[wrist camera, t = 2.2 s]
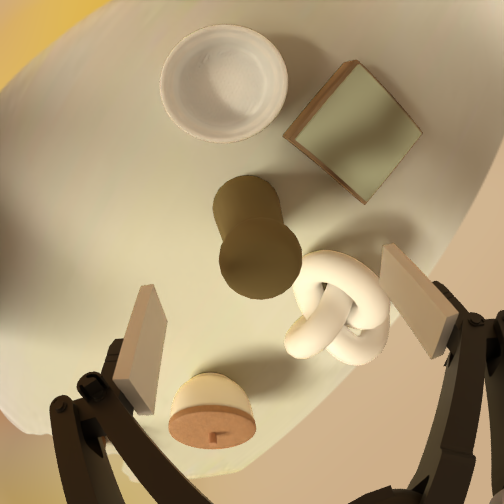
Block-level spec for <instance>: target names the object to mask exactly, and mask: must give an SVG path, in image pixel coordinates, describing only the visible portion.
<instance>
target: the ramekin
mask: <svg viewBox="0 0 504 504" xmlns="http://www.w3.org/2000/svg"><path fill="white" fill-rule="evenodd" d="M287 91H288V73H287V68H286V64H285V62H284V60H283V57H282V56H281V54H280V52H279V51H278V49H277V48H276V47H275V46H274V44H273V43H271V42H270V41H269V40H268V39H267V38H266V37H264V36H263V35H261V34H260V33H258V32H256V31H254V30H252V29H249V28H246V27H243V26H238V25H230V24H220V25H213V26H208V27H205V28H201V29H199V30H197V31H195V32H193V33H191V34H189V35H188V36H186V37H185V38H183V39H182V40H181V41H180V42H179V43H178V44H177V45H176V46H175V47H174V48H173V49H172V51H171V52H170V53H169V55H168V57H167V59H166V60H165V63H164V65H163V67H162V71H161V76H160V94H161V99H162V102H163V105H164V108H165V110H166V112H167V113H168V115H169V116H170V118H171V119H172V120H173V121H174V123H175V124H176V125H177V126H178V127H180V128H181V129H182V130H183V131H185V132H186V133H188V134H190V135H192V136H194V137H196V138H198V139H201V140H204V141H208V142H212V143H232V142H237V141H241V140H245V139H247V138H250V137H252V136H254V135H255V134H257V133H259V132H260V131H262V130H263V129H265V128H266V127H267V126H268V125H269V124H270V123H271V122H272V121H273V120H274V119H275V117H276V116H277V115H278V113H279V112H280V110H281V109H282V106H283V104H284V102H285V99H286V95H287Z"/></svg>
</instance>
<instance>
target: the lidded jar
mask: <svg viewBox="0 0 504 504" xmlns="http://www.w3.org/2000/svg"><path fill="white" fill-rule="evenodd" d="M169 432H170V434H171V435H172V437H173V438H175V439H176V440H177V441H179V442H181V443H183V444H185V445H188V446H192V447H196V448H202V449H223V448H229V447H234V446H237V445H240V444H242V443H245V442H246V441H248V440H249V439H251V438H252V437H253V435H254V434H255V432H256V424H255V420H254V417H253V412H252V407H251V404H250V401H249V399H248V397H247V395H246V393H245V392H244V390H243V389H242V388H241V387H240V386H239V385H238V384H237V383H235V382H234V381H232V380H230V379H229V378H228V377H227V376H225V375H223V374H219V373H213V372H207V373H201V374H198V375H195V376H194V377H192V378H191V379H190V380H189V381H187V382H186V383H184V384H183V385H182V386H181V387H180V388H179V390H178V391H177V393H176V395H175V397H174V400H173V403H172V406H171V412H170V420H169Z"/></svg>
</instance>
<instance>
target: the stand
mask: <svg viewBox="0 0 504 504" xmlns="http://www.w3.org/2000/svg"><path fill="white" fill-rule="evenodd" d="M422 133H423V132H422V131H421V130H420V128H419V127H418V126H417V125H416V123H415V122H414V121H413V120H412V118H411V117H410V116H409V115H408V114H407V112H406V111H405V110H404V109H403V108H402V106H401V105H400V104H399V103H398V102H397V101H396V100H395V98H394V97H393V96H392V95H391V94H390V93H389V92H388V91H387V90H386V88H385V87H384V86H383V85H382V84H381V83H380V82H379V81H378V80H377V79H376V78H375V77H374V76H373V75H372V74H371V73H370V72H369V71H368V70H367V69H366V68H365V67H364V66H363V65H362V64H361V63H360V62H359V61H358V60H353V61H348V62H344V63H343V64H342V66H341V67H340V68H339V69H338V70H337V71H336V72H335V74H334V75H333V76H332V77H331V78H330V79H329V81H328V82H327V83H326V84H325V85H324V86H323V87H322V89H321V90H320V91H319V92H318V93H317V95H316V96H315V97H314V98H313V99H312V100H311V102H310V103H309V104H308V105H307V106H306V108H305V109H304V110H303V111H302V112H301V114H300V115H299V116H298V117H297V118H296V120H295V121H294V122H293V123H292V125H291V126H290V127H289V128H288V129H287V131H286V132H285V133H284V134H283V137H284V138H285V139H287V140H288V141H289V142H290V143H292V144H293V145H294V146H295V147H297V148H298V149H299V150H300V151H302V152H303V153H304V154H305V155H307V156H308V157H309V158H310V159H311V160H313V161H314V162H315V163H316V164H317V165H319V166H320V167H321V168H322V169H323V170H324V171H326V172H327V173H328V174H329V175H330V176H331V177H333V178H334V179H335V180H336V181H337V182H338V183H339V184H341V185H342V186H343V187H344V188H345V189H346V190H347V191H348V192H350V193H351V194H352V195H353V196H354V197H355V198H357V199H358V200H359V201H360V202H362V203H363V204H364V205H365V204H366V203H367V202H368V201H369V199H370V198H371V197H372V196H373V195H374V193H375V192H376V191H377V190H378V189H379V187H380V186H381V185H382V184H383V183H384V181H385V180H386V179H387V178H388V176H389V175H390V174H391V173H392V171H393V170H394V169H395V168H396V167H397V165H398V164H399V163H400V162H401V160H402V159H403V158H404V156H405V155H406V154H407V153H408V151H409V150H410V149H411V148H412V146H413V145H414V144H415V142H416V141H417V140H418V139H419V137H420V136H421V135H422Z"/></svg>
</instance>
